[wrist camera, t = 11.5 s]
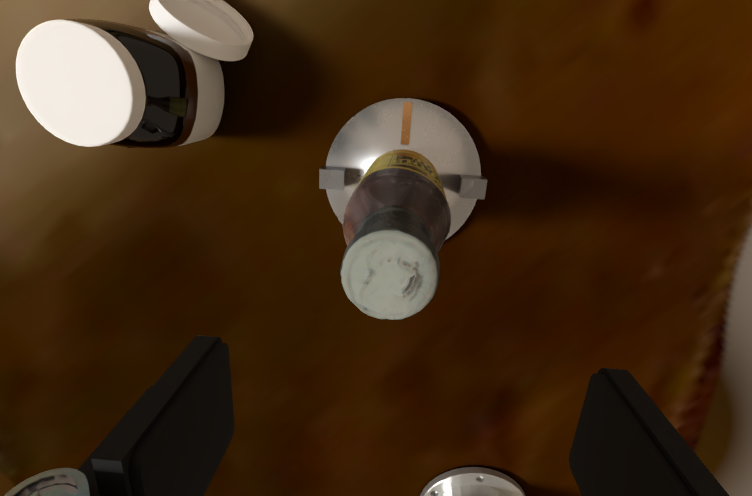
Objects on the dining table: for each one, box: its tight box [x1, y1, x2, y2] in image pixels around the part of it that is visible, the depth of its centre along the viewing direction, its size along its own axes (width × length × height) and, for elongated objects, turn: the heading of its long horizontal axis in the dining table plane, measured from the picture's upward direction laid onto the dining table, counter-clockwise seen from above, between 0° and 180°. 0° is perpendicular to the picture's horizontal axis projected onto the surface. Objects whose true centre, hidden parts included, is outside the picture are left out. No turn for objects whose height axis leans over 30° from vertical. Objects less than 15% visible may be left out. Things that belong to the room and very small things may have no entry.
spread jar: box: [16, 0, 254, 148], centre depth 29 cm, size 12×11×12 cm
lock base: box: [319, 98, 487, 240], centre depth 35 cm, size 13×13×3 cm
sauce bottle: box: [340, 149, 451, 320], centre depth 26 cm, size 7×6×20 cm
